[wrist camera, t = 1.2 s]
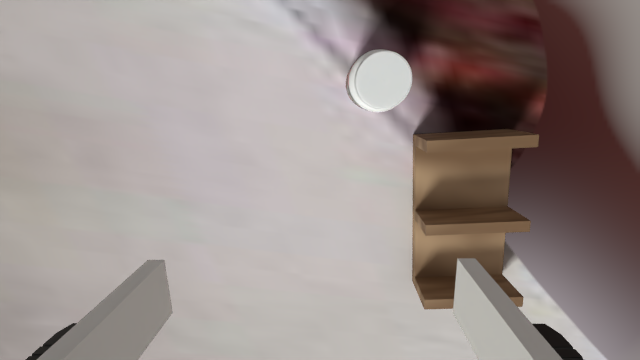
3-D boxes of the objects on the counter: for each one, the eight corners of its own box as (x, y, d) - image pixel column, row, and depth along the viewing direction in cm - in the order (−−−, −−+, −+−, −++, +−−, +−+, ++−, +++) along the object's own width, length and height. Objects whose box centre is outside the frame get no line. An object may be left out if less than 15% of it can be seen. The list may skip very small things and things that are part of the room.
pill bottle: (341, 62, 31) (344, 50, 23) (392, 52, 31) (413, 37, 23) (349, 113, 32) (355, 119, 24) (398, 104, 32) (420, 107, 24)
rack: (413, 134, 32) (427, 140, 28) (507, 128, 32) (539, 134, 27) (412, 280, 36) (424, 309, 31) (497, 278, 36) (522, 306, 31)
